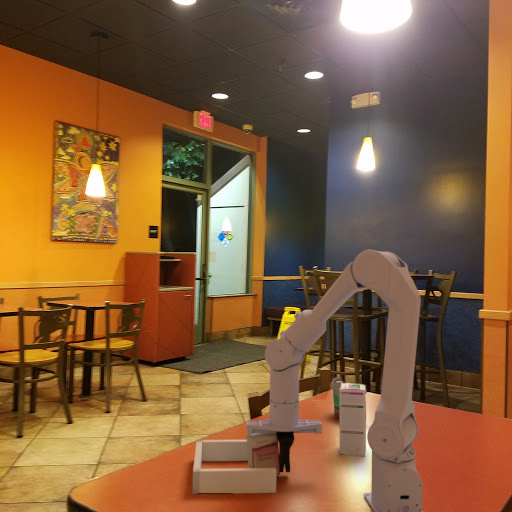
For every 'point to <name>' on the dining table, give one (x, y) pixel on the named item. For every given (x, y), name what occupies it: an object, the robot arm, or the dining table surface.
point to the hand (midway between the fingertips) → (283, 470)
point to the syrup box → (352, 419)
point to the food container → (338, 394)
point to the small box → (263, 451)
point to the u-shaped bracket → (229, 470)
